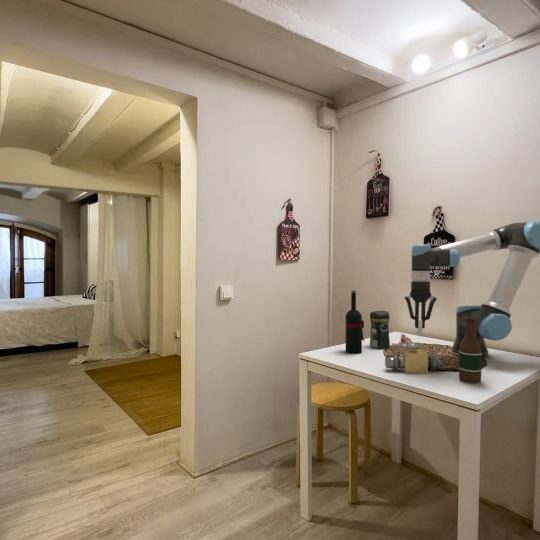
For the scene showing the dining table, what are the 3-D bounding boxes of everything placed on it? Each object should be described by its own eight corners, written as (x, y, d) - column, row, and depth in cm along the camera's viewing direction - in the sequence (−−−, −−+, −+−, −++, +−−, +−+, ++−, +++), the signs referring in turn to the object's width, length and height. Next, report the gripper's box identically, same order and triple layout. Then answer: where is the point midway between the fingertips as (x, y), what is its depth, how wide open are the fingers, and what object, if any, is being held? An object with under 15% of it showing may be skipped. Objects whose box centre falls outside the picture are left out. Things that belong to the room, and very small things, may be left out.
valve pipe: (437, 367, 159) (437, 346, 158) (444, 373, 152) (444, 350, 151) (384, 367, 160) (384, 346, 159) (388, 373, 153) (388, 350, 152)
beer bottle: (462, 375, 149) (462, 314, 148) (484, 380, 143) (485, 316, 142) (455, 380, 143) (455, 317, 142) (478, 385, 138) (478, 319, 137)
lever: (420, 349, 153) (420, 345, 153) (409, 349, 153) (409, 345, 153) (409, 341, 167) (409, 337, 167) (399, 341, 167) (399, 337, 167)
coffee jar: (381, 344, 200) (381, 309, 199) (392, 347, 193) (392, 311, 192) (366, 346, 196) (366, 310, 195) (377, 349, 188) (377, 312, 188)
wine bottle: (369, 352, 185) (369, 290, 183) (352, 354, 180) (352, 291, 179) (358, 348, 192) (358, 289, 190) (342, 351, 187) (341, 290, 186)
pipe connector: (411, 352, 182) (411, 332, 182) (417, 358, 172) (417, 337, 172) (389, 352, 183) (389, 332, 183) (394, 358, 173) (394, 336, 173)
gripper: (405, 281, 159) (404, 336, 160) (439, 281, 157) (437, 338, 158) (403, 279, 167) (402, 333, 168) (435, 280, 164) (434, 334, 165)
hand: (419, 335), depth 163 cm, fingers closed
